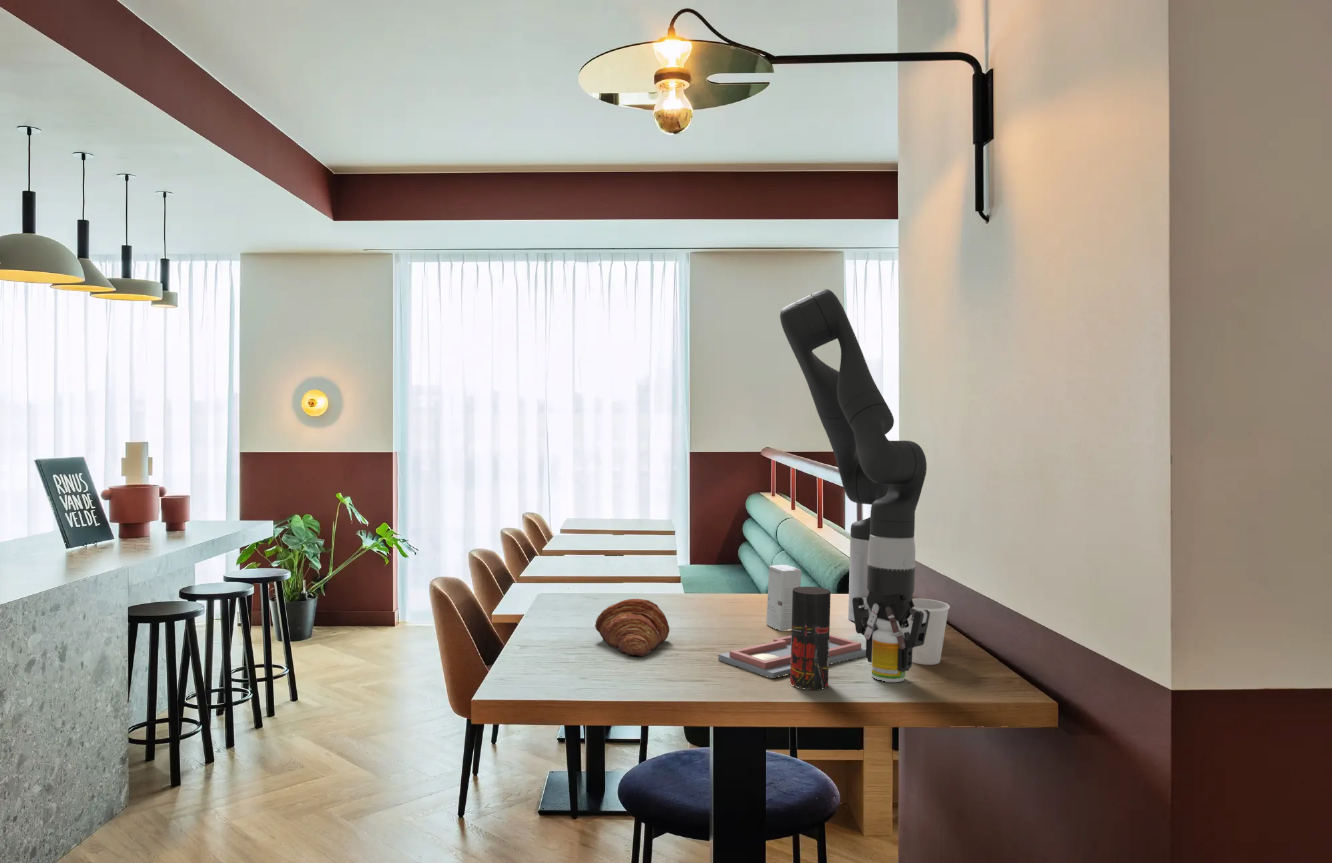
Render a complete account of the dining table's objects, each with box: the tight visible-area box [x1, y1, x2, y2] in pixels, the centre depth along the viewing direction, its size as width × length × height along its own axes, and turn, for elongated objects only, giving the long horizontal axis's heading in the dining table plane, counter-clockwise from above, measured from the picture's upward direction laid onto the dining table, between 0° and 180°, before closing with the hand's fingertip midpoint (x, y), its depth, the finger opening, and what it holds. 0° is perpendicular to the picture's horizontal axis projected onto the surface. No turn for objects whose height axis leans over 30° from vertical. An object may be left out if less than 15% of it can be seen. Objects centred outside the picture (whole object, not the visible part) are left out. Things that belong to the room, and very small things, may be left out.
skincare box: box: [765, 564, 802, 632], centre depth 177 cm, size 6×4×12 cm
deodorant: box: [789, 586, 831, 691], centre depth 140 cm, size 6×6×15 cm
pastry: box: [594, 598, 670, 658], centre depth 164 cm, size 17×15×8 cm
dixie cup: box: [909, 598, 951, 666], centre depth 156 cm, size 8×8×10 cm
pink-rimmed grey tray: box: [717, 634, 866, 679], centre depth 155 cm, size 24×13×2 cm, turn 129°
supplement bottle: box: [870, 618, 906, 683], centre depth 145 cm, size 5×5×10 cm
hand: (888, 665), depth 145 cm, fingers closed on supplement bottle, 5 cm apart
